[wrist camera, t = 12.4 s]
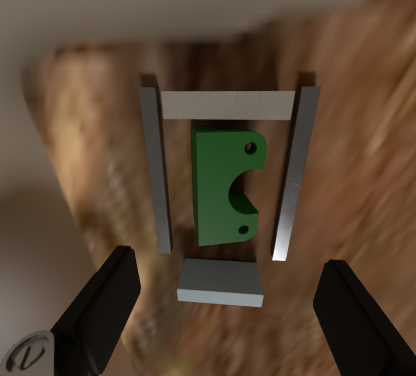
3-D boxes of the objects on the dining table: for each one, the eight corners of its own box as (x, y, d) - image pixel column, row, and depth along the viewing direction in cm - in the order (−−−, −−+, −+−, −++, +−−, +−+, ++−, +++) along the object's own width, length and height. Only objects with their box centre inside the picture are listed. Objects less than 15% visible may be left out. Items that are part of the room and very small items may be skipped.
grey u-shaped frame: (315, 87, 19) (344, 83, 14) (282, 254, 27) (294, 285, 22) (143, 88, 20) (118, 84, 15) (161, 247, 28) (149, 275, 23)
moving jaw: (257, 262, 27) (263, 295, 23) (255, 273, 28) (261, 307, 24) (185, 258, 28) (177, 288, 23) (185, 268, 29) (178, 300, 24)
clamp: (232, 188, 28) (251, 247, 22) (190, 191, 27) (198, 253, 21) (251, 105, 20) (291, 165, 14) (190, 106, 19) (204, 170, 13)
